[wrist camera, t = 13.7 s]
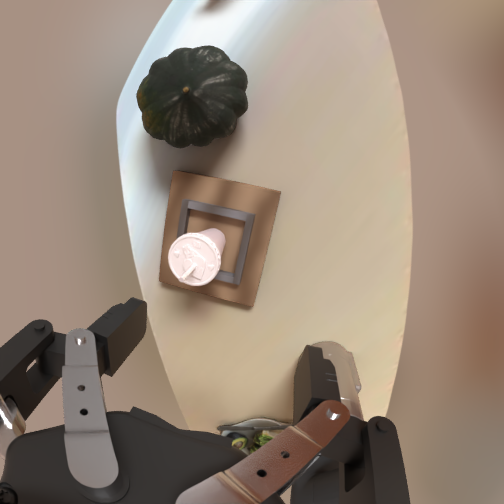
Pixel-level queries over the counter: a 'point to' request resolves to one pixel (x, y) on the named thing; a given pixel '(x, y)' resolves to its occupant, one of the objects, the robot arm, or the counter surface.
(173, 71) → the squash
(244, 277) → the base board
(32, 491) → the robot arm
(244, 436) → the salad plate
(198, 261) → the smoothie
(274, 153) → the counter surface
